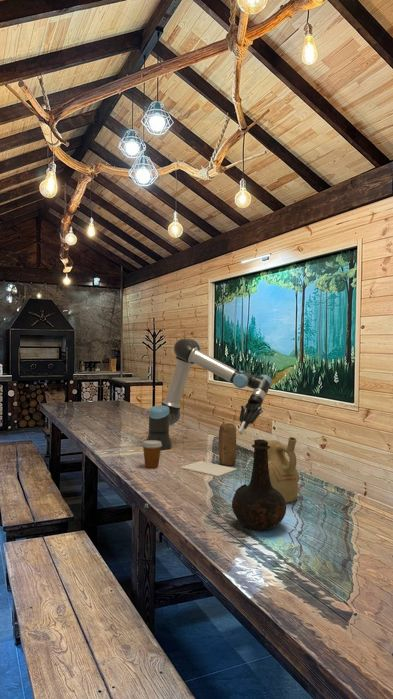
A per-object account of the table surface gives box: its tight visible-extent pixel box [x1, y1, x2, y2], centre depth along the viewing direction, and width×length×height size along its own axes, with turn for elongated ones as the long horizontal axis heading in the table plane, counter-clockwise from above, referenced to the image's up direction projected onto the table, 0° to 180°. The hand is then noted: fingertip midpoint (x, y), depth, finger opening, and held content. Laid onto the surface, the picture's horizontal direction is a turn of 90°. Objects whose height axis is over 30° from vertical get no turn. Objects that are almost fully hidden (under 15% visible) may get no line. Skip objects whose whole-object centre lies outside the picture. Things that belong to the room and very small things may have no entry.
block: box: [218, 422, 237, 467], centre depth 226 cm, size 11×8×20 cm
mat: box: [179, 460, 238, 478], centre depth 216 cm, size 22×16×1 cm
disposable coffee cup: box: [141, 439, 162, 469], centre depth 217 cm, size 10×10×12 cm
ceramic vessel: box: [268, 436, 300, 504], centre depth 176 cm, size 17×20×25 cm
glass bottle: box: [231, 439, 287, 531], centre depth 148 cm, size 18×18×28 cm
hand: (240, 432), depth 236 cm, fingers closed
